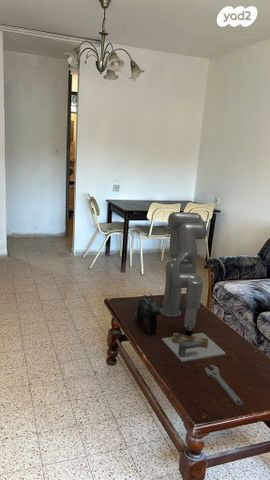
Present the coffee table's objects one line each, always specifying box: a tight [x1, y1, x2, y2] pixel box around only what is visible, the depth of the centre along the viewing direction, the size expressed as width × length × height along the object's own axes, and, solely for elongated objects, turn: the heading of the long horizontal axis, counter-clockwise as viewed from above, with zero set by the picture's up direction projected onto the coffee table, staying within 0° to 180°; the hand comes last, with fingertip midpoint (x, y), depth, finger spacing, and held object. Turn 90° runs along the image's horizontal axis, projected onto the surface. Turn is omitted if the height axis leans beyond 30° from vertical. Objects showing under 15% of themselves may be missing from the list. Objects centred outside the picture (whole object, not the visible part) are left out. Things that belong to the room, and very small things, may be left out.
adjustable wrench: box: [204, 364, 243, 407], centre depth 149 cm, size 25×6×2 cm, turn 13°
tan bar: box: [172, 332, 208, 347], centre depth 178 cm, size 17×4×4 cm, turn 80°
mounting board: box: [161, 332, 226, 363], centre depth 176 cm, size 20×24×6 cm
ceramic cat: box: [136, 293, 161, 336], centre depth 189 cm, size 20×6×20 cm, turn 22°
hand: (187, 336), depth 182 cm, fingers closed
